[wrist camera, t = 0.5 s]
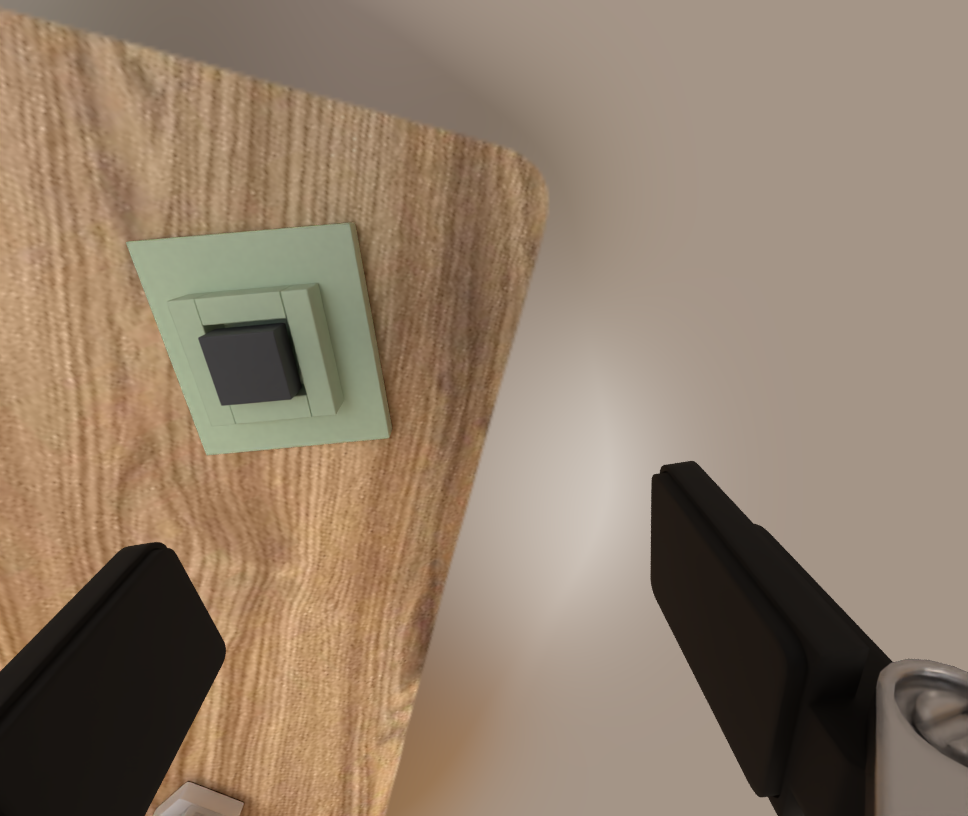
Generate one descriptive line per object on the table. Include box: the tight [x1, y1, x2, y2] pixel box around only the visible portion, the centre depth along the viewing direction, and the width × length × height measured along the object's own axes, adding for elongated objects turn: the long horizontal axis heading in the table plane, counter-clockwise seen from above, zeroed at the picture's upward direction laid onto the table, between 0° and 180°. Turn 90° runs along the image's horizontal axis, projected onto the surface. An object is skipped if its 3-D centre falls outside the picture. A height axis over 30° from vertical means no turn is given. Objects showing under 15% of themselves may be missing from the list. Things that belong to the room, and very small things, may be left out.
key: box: [198, 323, 302, 406], centre depth 21 cm, size 3×3×2 cm
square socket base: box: [126, 222, 392, 455], centre depth 22 cm, size 11×10×3 cm
